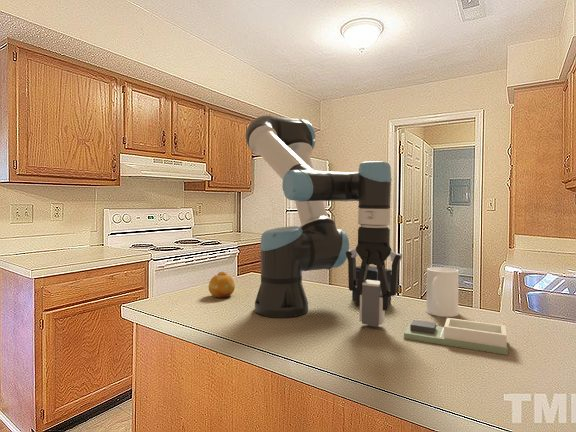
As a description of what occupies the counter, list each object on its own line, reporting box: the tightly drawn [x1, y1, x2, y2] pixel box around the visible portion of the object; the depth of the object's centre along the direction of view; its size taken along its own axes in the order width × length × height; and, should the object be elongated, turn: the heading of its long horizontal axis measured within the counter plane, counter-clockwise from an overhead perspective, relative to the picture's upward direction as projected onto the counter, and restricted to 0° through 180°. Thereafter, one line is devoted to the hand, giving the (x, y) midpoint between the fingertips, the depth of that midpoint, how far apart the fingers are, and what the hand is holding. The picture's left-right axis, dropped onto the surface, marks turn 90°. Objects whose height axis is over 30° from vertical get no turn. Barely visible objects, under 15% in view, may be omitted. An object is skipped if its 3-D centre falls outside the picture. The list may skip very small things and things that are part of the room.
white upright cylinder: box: [425, 266, 460, 318], centre depth 101 cm, size 12×8×12 cm
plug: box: [361, 280, 382, 327], centre depth 91 cm, size 4×4×10 cm
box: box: [351, 265, 392, 305], centre depth 114 cm, size 11×7×10 cm, turn 34°
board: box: [403, 319, 509, 356], centre depth 82 cm, size 20×8×3 cm, turn 62°
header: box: [443, 317, 508, 348], centre depth 80 cm, size 12×7×2 cm, turn 62°
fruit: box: [208, 271, 236, 298], centre depth 121 cm, size 8×8×8 cm
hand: (372, 321), depth 91 cm, fingers closed on plug, 4 cm apart
